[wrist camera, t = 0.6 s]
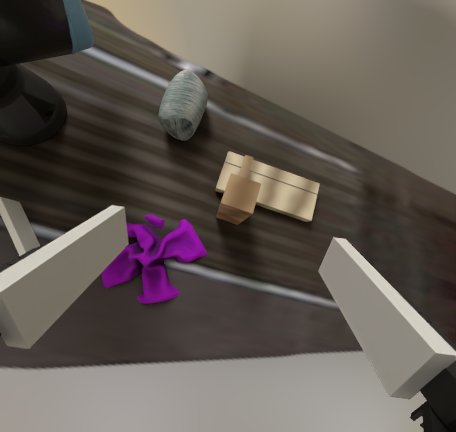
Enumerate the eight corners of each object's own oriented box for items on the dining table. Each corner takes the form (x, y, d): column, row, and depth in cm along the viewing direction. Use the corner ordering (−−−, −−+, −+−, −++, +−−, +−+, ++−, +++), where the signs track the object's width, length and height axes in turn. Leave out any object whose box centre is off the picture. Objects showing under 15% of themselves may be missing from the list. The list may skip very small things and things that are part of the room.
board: (215, 190, 41) (215, 187, 39) (227, 155, 43) (228, 151, 41) (306, 222, 42) (311, 220, 40) (314, 186, 44) (319, 183, 42)
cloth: (216, 232, 40) (218, 229, 34) (178, 319, 36) (172, 333, 30) (119, 189, 39) (104, 178, 33) (69, 274, 35) (41, 279, 29)
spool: (198, 148, 39) (176, 98, 31) (163, 146, 42) (135, 101, 34) (222, 111, 45) (209, 61, 37) (189, 112, 48) (171, 67, 40)
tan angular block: (215, 217, 40) (221, 202, 27) (233, 165, 43) (245, 129, 30) (237, 224, 40) (252, 213, 28) (253, 172, 43) (274, 139, 30)
